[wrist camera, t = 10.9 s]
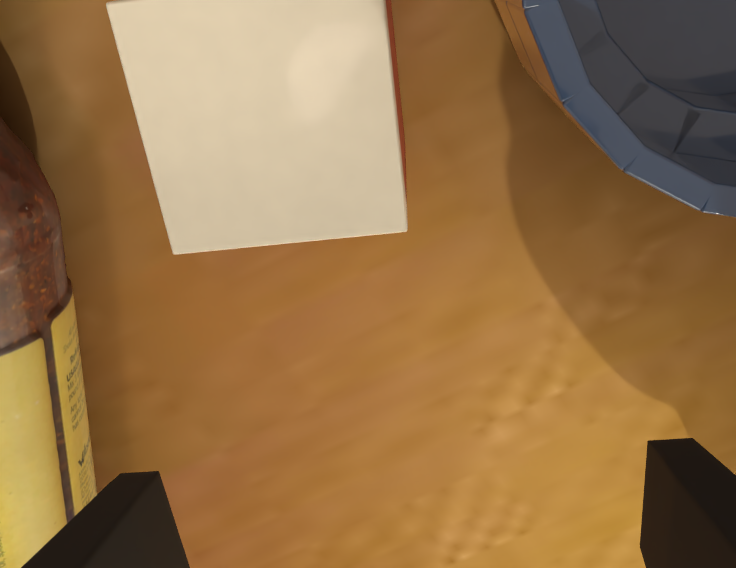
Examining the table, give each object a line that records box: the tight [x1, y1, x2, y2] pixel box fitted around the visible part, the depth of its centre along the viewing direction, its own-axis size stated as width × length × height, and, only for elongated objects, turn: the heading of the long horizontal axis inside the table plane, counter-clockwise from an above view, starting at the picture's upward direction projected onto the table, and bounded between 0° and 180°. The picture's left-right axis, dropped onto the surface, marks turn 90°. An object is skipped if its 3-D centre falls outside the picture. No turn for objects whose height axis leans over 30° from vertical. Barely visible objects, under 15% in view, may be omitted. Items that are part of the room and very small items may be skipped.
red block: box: [106, 0, 408, 254], centre depth 14 cm, size 4×4×6 cm
